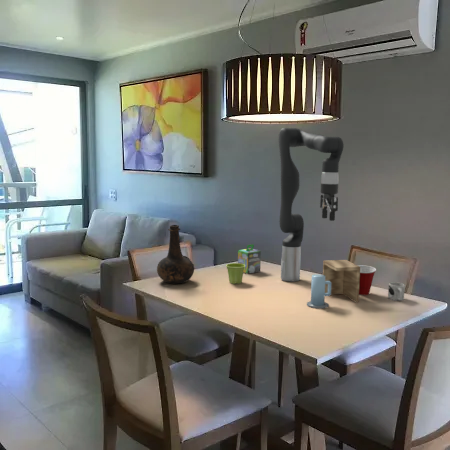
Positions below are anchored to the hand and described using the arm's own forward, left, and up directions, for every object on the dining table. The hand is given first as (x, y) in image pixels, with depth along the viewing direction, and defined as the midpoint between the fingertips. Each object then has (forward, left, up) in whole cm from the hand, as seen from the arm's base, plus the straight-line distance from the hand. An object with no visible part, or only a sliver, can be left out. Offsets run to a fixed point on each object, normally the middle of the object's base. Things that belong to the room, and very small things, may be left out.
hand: (328, 219), depth 220 cm
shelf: (+5, -6, -34) cm, 35 cm away
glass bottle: (-69, +19, -34) cm, 80 cm away
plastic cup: (+17, +1, -34) cm, 38 cm away
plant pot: (-40, +19, -34) cm, 56 cm away
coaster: (-7, -17, -34) cm, 39 cm away
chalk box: (-32, +43, -34) cm, 64 cm away
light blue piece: (-5, -17, -33) cm, 38 cm away
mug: (+30, -8, -34) cm, 46 cm away
